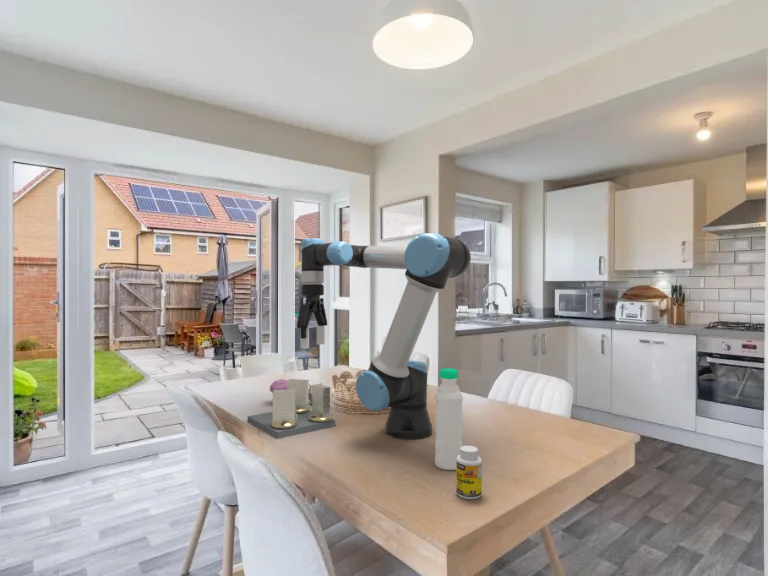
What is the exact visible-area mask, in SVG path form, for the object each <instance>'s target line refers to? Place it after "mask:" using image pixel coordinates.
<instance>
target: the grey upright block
mask: <svg viewBox="0 0 768 576" xmlns="http://www.w3.org/2000/svg"><path fill="white" fill-rule="evenodd" d="M311 386H312V403H311V404H312V406H311V407H312V409H311V411H312V414H311V415H309V420H310V421H313V422H326V421H330V420H332V419H334V415H333V413H331V387H330V386H328V385H326V384H325V385H324V384H322V385H321V383H317V384H316V383H315V384H312V385H311Z"/></svg>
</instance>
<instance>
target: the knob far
mask: <svg viewBox="0 0 768 576" xmlns="http://www.w3.org/2000/svg"><path fill="white" fill-rule="evenodd" d="M287 380H288V384H287V390H296V414H300V413H305V412H308V411H309V410H310V406H309V399H308V397H309V388H310V386H309V385H310V384H309V383H310V382H309V381H310V380H309V379H301V378H300V379H299V378H290V379H287Z"/></svg>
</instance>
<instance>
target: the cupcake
mask: <svg viewBox="0 0 768 576" xmlns="http://www.w3.org/2000/svg"><path fill="white" fill-rule="evenodd" d="M288 380H289V379H277V380H274V381H273V382H272V383H271V384H270V386H269V391H270V392H271V393H272V394H273V391H274V390H287V384H288Z"/></svg>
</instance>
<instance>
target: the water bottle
mask: <svg viewBox="0 0 768 576" xmlns="http://www.w3.org/2000/svg"><path fill="white" fill-rule="evenodd" d="M439 378H440V381H441V383H440V384H439V386H438V389H437V391H436V393H435V397H434V400H435V410H434V411H435V412H434V413H435V414H434V417H435V418H434V425H435V430H434V432H435V438H434V439H435V441H434V447H435V453H434V454H435V455H434V465H436V467H437V468H439V469H441V470H445V471H456V458H457V456H458V455H460V447H462V446H463V439H462V438H463V404H462V403H463V400H464V398H463V394H462V392H461V390H460V387H459V385H458V384H457V380H458V379H459V370H458V369H456V368H452V367H444V368H441V369H440V370H439Z"/></svg>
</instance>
